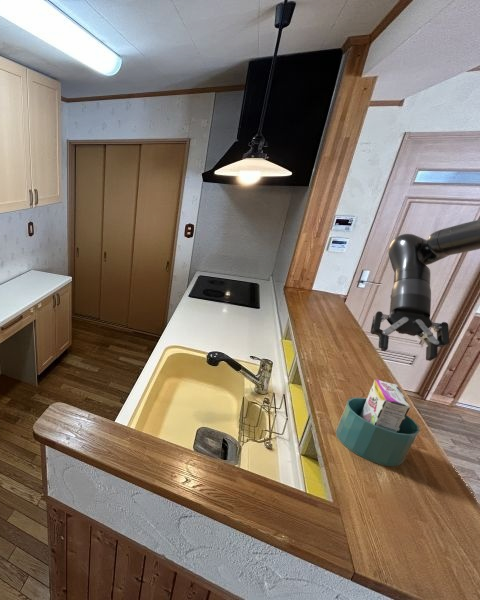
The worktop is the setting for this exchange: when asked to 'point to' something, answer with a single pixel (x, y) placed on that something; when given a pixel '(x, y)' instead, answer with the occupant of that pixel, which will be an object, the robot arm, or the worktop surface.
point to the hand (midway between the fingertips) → (406, 354)
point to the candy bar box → (385, 406)
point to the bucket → (375, 436)
